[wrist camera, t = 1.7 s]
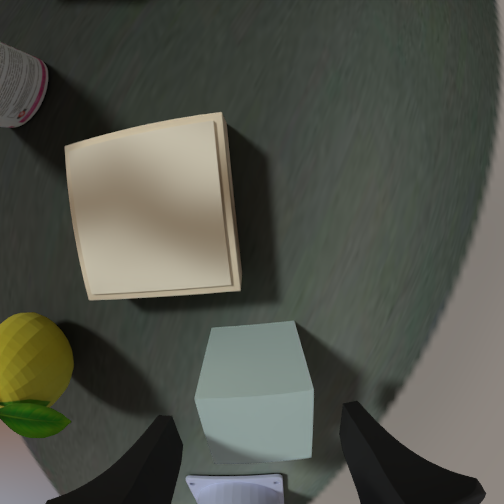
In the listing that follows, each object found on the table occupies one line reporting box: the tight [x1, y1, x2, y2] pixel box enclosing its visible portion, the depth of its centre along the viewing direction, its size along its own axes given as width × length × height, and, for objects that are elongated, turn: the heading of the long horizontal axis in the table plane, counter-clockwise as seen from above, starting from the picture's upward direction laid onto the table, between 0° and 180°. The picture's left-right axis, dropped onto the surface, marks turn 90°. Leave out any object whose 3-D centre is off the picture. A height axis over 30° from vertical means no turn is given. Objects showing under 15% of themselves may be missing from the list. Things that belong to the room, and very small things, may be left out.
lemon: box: [0, 312, 74, 438], centre depth 12 cm, size 7×6×10 cm
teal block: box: [195, 321, 314, 464], centre depth 14 cm, size 4×4×6 cm
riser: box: [65, 112, 242, 300], centre depth 13 cm, size 8×8×3 cm
